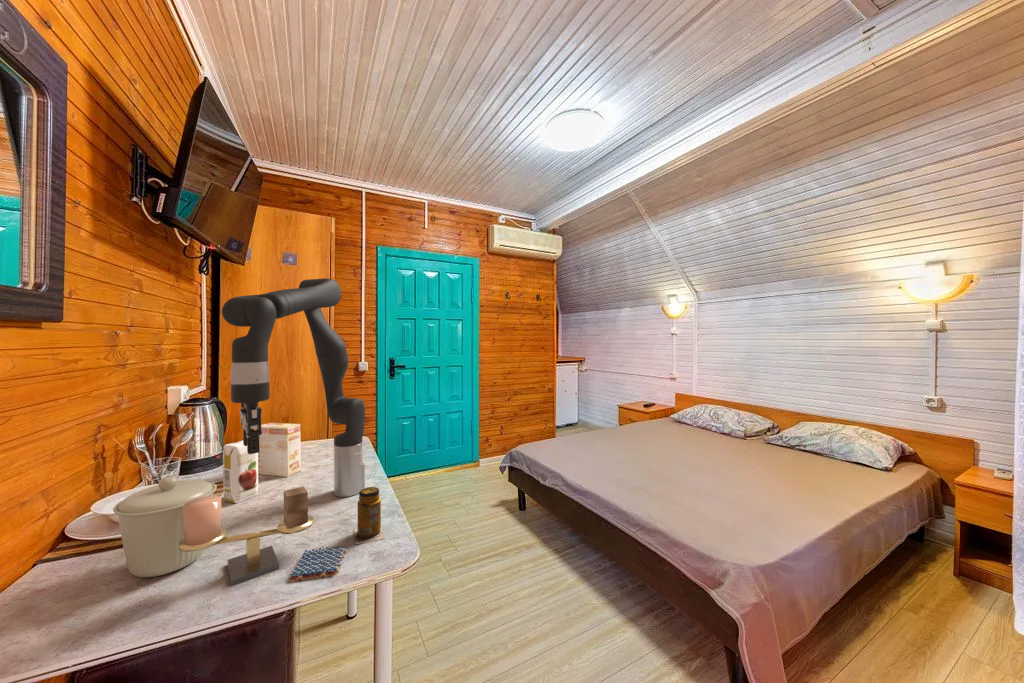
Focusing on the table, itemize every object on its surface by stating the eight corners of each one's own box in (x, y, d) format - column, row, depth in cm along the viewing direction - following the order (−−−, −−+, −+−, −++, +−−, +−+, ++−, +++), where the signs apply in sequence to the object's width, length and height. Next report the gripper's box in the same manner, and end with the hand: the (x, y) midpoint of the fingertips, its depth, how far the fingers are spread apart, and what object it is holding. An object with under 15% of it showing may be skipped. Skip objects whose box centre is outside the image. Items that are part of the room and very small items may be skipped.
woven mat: (287, 585, 81) (287, 576, 81) (302, 557, 91) (302, 549, 91) (337, 578, 83) (337, 569, 83) (347, 551, 94) (347, 543, 94)
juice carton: (220, 501, 121) (219, 444, 121) (247, 491, 129) (246, 438, 129) (234, 505, 119) (234, 447, 118) (261, 494, 127) (261, 440, 126)
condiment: (381, 524, 107) (380, 483, 106) (384, 538, 99) (384, 494, 99) (354, 530, 103) (353, 488, 103) (355, 545, 96) (355, 500, 96)
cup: (220, 527, 85) (220, 493, 85) (222, 538, 80) (222, 502, 80) (183, 537, 81) (183, 501, 81) (183, 549, 76) (183, 511, 76)
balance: (308, 538, 99) (308, 500, 99) (318, 554, 92) (318, 513, 92) (179, 580, 82) (179, 535, 82) (178, 604, 74) (178, 554, 74)
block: (303, 516, 96) (303, 486, 96) (307, 522, 93) (307, 491, 92) (283, 522, 93) (283, 491, 93) (287, 529, 90) (287, 496, 90)
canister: (157, 594, 78) (156, 495, 77) (90, 584, 81) (89, 489, 81) (235, 546, 95) (234, 466, 95) (178, 539, 99) (177, 462, 98)
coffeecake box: (301, 471, 149) (301, 423, 149) (287, 477, 142) (286, 427, 142) (271, 468, 153) (271, 421, 152) (256, 474, 146) (255, 425, 146)
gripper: (274, 382, 84) (274, 452, 84) (264, 377, 94) (265, 439, 94) (233, 385, 79) (233, 460, 79) (228, 379, 89) (228, 445, 89)
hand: (251, 449), depth 87 cm, fingers open, 8 cm apart
